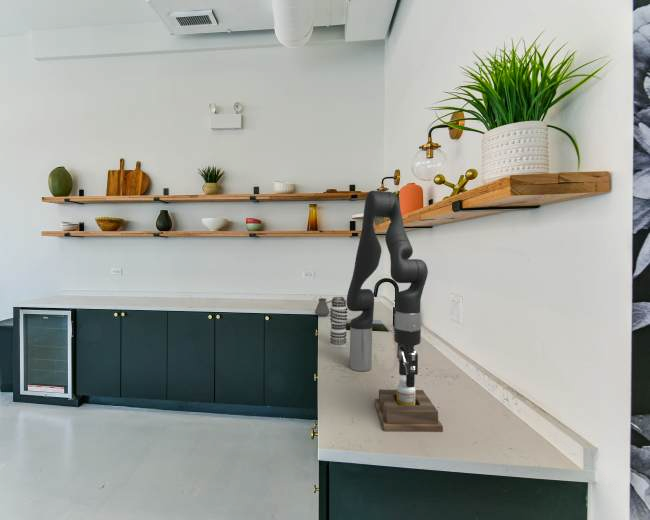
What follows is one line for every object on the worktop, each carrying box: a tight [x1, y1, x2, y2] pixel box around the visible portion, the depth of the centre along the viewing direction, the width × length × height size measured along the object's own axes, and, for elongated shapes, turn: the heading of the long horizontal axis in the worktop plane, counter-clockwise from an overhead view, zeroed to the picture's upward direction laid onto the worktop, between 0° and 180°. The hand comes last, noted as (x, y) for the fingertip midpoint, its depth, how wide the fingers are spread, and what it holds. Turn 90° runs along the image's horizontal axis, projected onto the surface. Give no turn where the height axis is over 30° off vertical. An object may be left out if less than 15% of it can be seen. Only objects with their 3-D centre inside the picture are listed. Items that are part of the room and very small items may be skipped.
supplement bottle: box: [396, 376, 417, 405], centre depth 95 cm, size 5×5×10 cm
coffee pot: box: [314, 297, 332, 317], centre depth 245 cm, size 21×12×15 cm, turn 84°
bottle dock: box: [374, 388, 444, 433], centre depth 95 cm, size 16×16×5 cm
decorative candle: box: [329, 296, 349, 348], centre depth 168 cm, size 9×9×25 cm
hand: (406, 380), depth 95 cm, fingers open, 8 cm apart
